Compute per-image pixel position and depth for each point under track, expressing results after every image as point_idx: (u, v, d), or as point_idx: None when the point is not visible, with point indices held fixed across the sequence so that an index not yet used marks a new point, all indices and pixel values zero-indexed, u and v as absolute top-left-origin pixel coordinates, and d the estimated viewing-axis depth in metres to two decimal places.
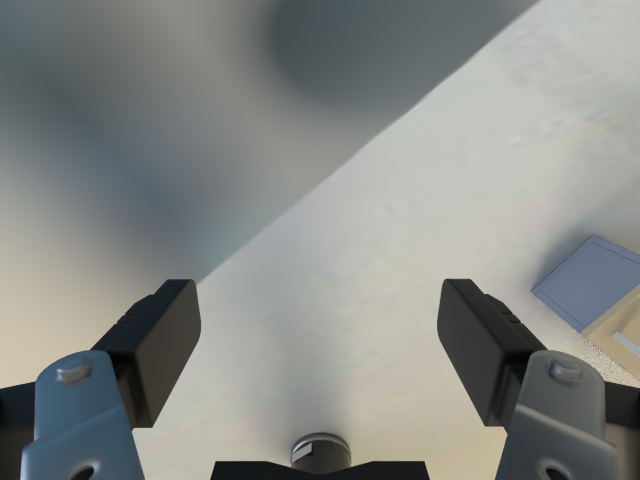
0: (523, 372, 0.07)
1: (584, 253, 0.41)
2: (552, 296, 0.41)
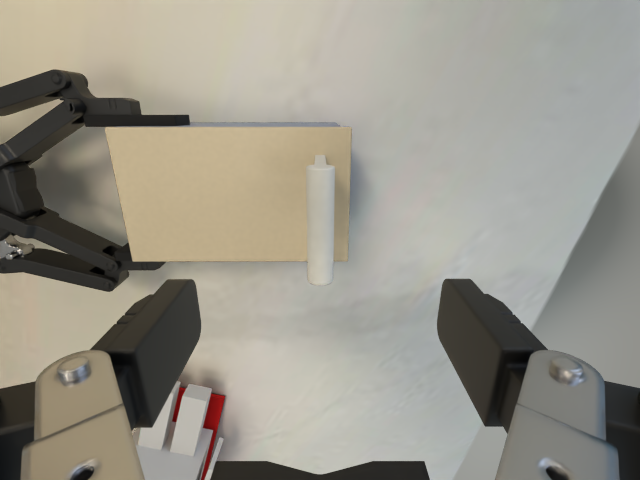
0: (523, 372, 0.07)
1: None
2: None
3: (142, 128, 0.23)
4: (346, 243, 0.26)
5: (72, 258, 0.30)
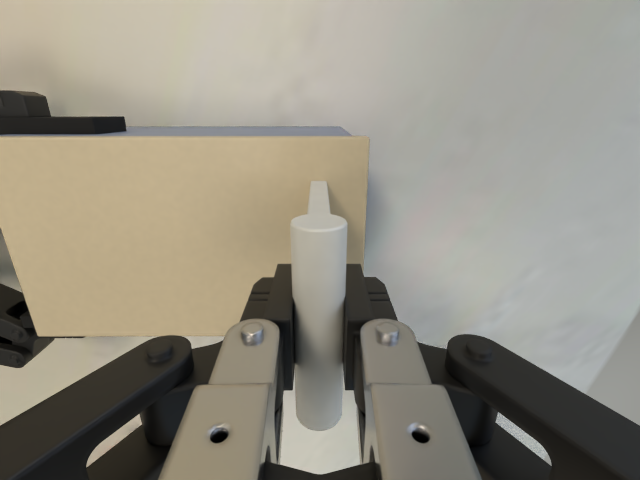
0: None
1: None
2: None
3: (31, 139, 0.14)
4: None
5: None
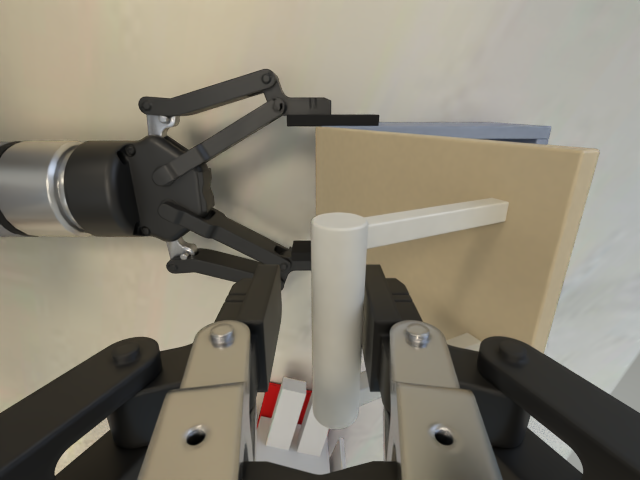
0: None
1: None
2: None
3: (333, 129, 0.21)
4: None
5: (235, 258, 0.30)
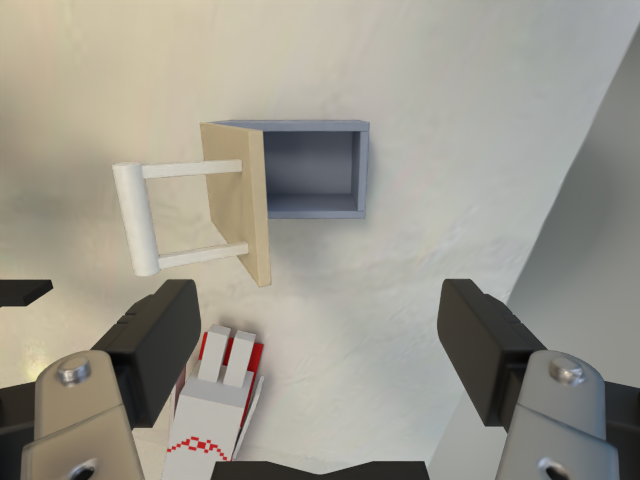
0: (523, 372, 0.07)
1: None
2: None
3: (204, 124, 0.31)
4: (256, 266, 0.22)
5: None
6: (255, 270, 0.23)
